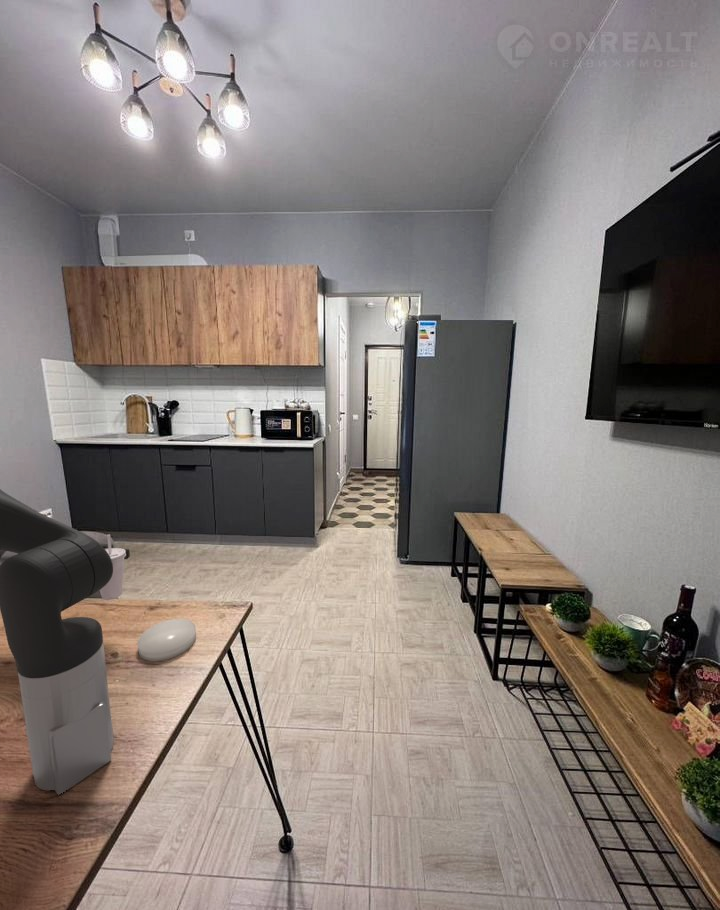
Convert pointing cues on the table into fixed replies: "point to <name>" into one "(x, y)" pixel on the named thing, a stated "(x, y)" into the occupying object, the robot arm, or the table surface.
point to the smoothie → (114, 573)
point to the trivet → (166, 639)
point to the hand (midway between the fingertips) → (120, 560)
